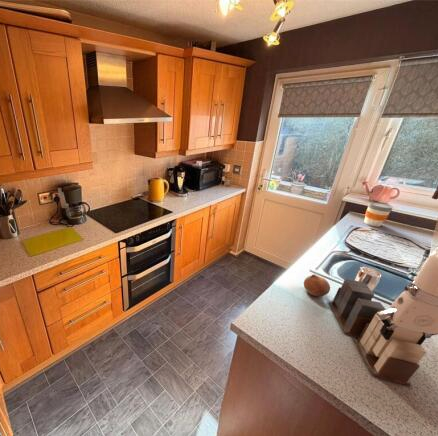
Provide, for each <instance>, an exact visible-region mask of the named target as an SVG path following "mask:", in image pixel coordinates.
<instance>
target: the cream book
mask: <svg viewBox="0 0 438 436" xmlns="http://www.w3.org/2000/svg"><path fill="white" fill-rule="evenodd" d="M392 323H393V322H390V324H392ZM393 331H394V333H393V334H392V336H391V337H390V339H389V340H385V339H384V337H383V336H381V337H380V339H379V341H378V342H377V344H376V345H375V347H374V348H373V352H374V353H375V355H376V357H381V355H382V354H383V352H384V351H385V349H386V348H387V346H388V345H389V343H390V342H391V340H392V339H397V340H401V341H406V342H410V343H415V344H417V342H418V341H419V340H420V338H421V337H422V336H423V333H422V332H419V331H415V330H410V329H406V328H401V327H396V328H394V329H393Z"/></svg>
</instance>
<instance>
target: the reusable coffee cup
mask: <svg viewBox="0 0 438 436" xmlns="http://www.w3.org/2000/svg"><path fill="white" fill-rule="evenodd" d="M392 211H393V205H391V204H389V203H385V202H380V201H370V202H369V203H368V204H367V209H366V211H365V215H364V216H365V217H364V221H363V223H365V224H366V225H368V226H372V227H381V226H382V224H383V223H384V222H385V221H386V220H387V218H388V217H389V216H390V213H391V212H392Z"/></svg>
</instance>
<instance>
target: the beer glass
mask: <svg viewBox="0 0 438 436" xmlns="http://www.w3.org/2000/svg"><path fill="white" fill-rule="evenodd" d="M382 276H383V275H382V273H381V272H380V270H379V271H378V270H377V269H375V268H372V267H369V266H361V267H360V269H359V270H358V272H357V273H356V275H355V278H354V281H359V282H365V284H366V285H367V286H368V287H369V289H370V290H371V291H372V292H373V291H374V290H375V289H376V288H377V286H378V285H379V283H380V281H381V278H382Z"/></svg>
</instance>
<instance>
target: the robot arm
mask: <svg viewBox="0 0 438 436" xmlns="http://www.w3.org/2000/svg"><path fill="white" fill-rule="evenodd" d="M376 314H377V315H378V317H379V318H380V319H381V321H382V322H383V323H384V325H383V326H382V328H381V330H380V333H381V334H382V336H383V337H384V339H385V340H389V339H390V337H391V336H392V334H393V333H394V331H393V329H394V328H396V327H401V328H406V329H410V330H415V331H419V332H422V333H423V336H422V337H421V338H420V340H419V341H418V342H417V344H419V345H421V346H422V344H423V343H424V342H425V340H426V339H431V337H432V336H436V335H437V336H438V246H437V247H435V248H434V250H433V251H432V253H430V254H429V256H428V257H427V259H426V261H425V262H424V263H423V265H422V267H421V269H420V270H419V271H418V273H417V275H416V276H415V278H414V280H412V283H411V284H410V285H409V286H407V285H406V286H404V291H402V293H400V294H399V295H398V296H397V297H396V299H395V300H394V301H393V302H392V304H390V306H389V308H388V309H386V310H384V311H380V312H377V313H376ZM386 317H388V318H386ZM392 321H393V323H392V324H390V322H392Z"/></svg>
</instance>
